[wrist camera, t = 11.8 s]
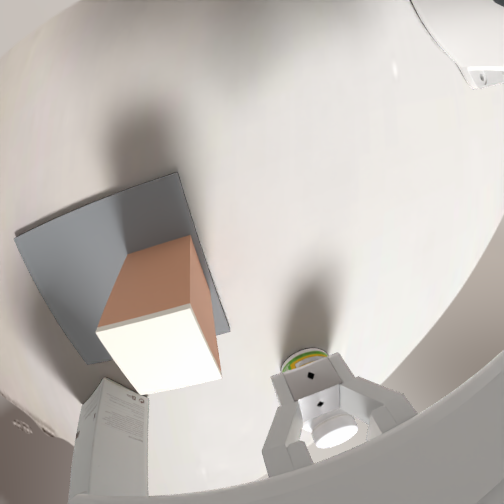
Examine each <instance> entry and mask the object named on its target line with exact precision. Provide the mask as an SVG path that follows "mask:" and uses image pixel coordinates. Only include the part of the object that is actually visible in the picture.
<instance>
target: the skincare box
mask: <svg viewBox="0 0 504 504" xmlns="http://www.w3.org/2000/svg"><path fill="white" fill-rule="evenodd" d="M148 419H149V398H147V397H145V396H143V395H140V394H137V393H135V392H133V391H131V390H129V389H127V388H126V387H124V386H122V385H120V384H118V383H116V382H114V381H112V380H110V379H108V378H106V377H104V378H103V379H102V381H101V383H100V384H99V386H98V387H97V389H96V390H95V391H94V393H93V394H92V395H91V397H90V398H89V399H88V400H87V401H86V402H85V403H84V404H83V405H82V408H81V413H80V417H79V423H78V428H77V434H76V440H75V446H74V453H73V461H72V468H71V480H70V490H69V501H70V500H71V499H72V498H73V497H74V496H75V495H78V494H89V495H101V496H148ZM69 501H68V502H69Z"/></svg>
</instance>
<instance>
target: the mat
mask: <svg viewBox="0 0 504 504" xmlns="http://www.w3.org/2000/svg"><path fill="white" fill-rule="evenodd" d="M188 235H191V238H192V241H193V244H194V247H195V250H196V253H197V256H198V259H199V261H200V264H201V267H202V270H203V273H204V276H205V278H206V281H207V284H208V287H209V290H210V293H211V301H212V309H213V317H214V324H215V332H216V335H220V334H224V333H227V332H230V328H229V325H228V323H227V320H226V317H225V314H224V312H223V309H222V306H221V303H220V300H219V298H218V295H217V292H216V289H215V286H214V283H213V281H212V278H211V275H210V272H209V269H208V266H207V263H206V260H205V257H204V254H203V251H202V248H201V245H200V242H199V239H198V236H197V233H196V230H195V227H194V224H193V221H192V217H191V214H190V211H189V208H188V205H187V201H186V198H185V195H184V192H183V188H182V185H181V182H180V178H179V175H178V172H176V173H173V174H170V175H167V176H164V177H161V178H158V179H155V180H152V181H149V182H146V183H143V184H140V185H137V186H135V187H132V188H129V189H126V190H124V191H121V192H118V193H115V194H113V195H110V196H108V197H105V198H102V199H100V200H97V201H95V202H92V203H90V204H87V205H85V206H83V207H80V208H78V209H75V210H73V211H71V212H68V213H66V214H64V215H62V216H59V217H57V218H55V219H53V220H50V221H48V222H46V223H44V224H42V225H40V226H38V227H35V228H33V229H31V230H29V231H27V232H25V233H23V234H21V235H19V236H17V237H16V238H14V241H15V243H16V245H17V248H18V250H19V252H20V254H21V256H22V258H23V261H24V263H25V265H26V267H27V269H28V271H29V273H30V275H31V277H32V278H33V280H34V282H35V284H36V286H37V288H38V290H39V291H40V293H41V295H42V297H43V299H44V300H45V302H46V304H47V305H48V307H49V309H50V310H51V312H52V314H53V315H54V317H55V319H56V320H57V322H58V323H59V325H60V326H61V328H62V330H63V331H64V333H65V334H66V336H67V337H68V339H69V340H70V341H71V343H72V344H73V346H74V347H75V349H76V350H77V351H78V353H79V354H80V356H81V357H82V358H83V360H84V361H85V362H86V364H87V365H88V364H94V363H99V362H104V361H110V360H113V358H112V357H111V355H110V354H109V352H108V351H107V349H106V348H105V347H104V345H103V344H102V342H101V341H100V339H99V337H98V336H97V334H96V333H95V332H96V330H97V327H98V324H99V321H100V319H101V316H102V314H103V311H104V308H105V306H106V303H107V301H108V298H109V296H110V293H111V291H112V289H113V286H114V284H115V282H116V279H117V277H118V275H119V272H120V270H121V268H122V266H123V263H124V261H125V259H126V257H127V254H130V253H133V252H137V251H140V250H143V249H146V248H149V247H152V246H156V245H159V244H162V243H165V242H168V241H172V240H175V239H178V238H182V237H185V236H188Z"/></svg>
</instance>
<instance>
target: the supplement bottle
mask: <svg viewBox="0 0 504 504" xmlns="http://www.w3.org/2000/svg"><path fill="white" fill-rule="evenodd" d="M327 356H328V355H327V354H326V353H325V352H324V351H323V350H321V349H317V348H309V349H304V350H301V351H299V352H297V353H295V354H293V355H292V356H290V357H289V358H288V359H287V360H286V361H285V362H284V364H283V366H282V368H281V373H283V372H286V371H289V370H292V369H295V368H298V367H301V366H304V365H306V364H308V363H311V362H314V361H316V360H319V359H321V358H324V357H327ZM302 428H303V429H304V430H306V431H309V432H311V435H312V437H313V440H314V442H315V444H316V446H317V447H319V448H329V447H333V446H336V445H339V444H341V443H343V442H345V441H347V440H348V439H350V438H351V437H352V436H353V435H355V433H356V432H357V430H358V426H357V424H356V422H355V419H354V417H352V415H350V414H348V413H347V412H345V411H343V410H341V409H340V408H339V409H336V410H333V411H331V412H328V413H325V414H323V415H320V416H318V417H315V418H313V419H310V420H308V421H305V422H303V427H302Z"/></svg>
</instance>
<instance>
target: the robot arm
mask: <svg viewBox="0 0 504 504" xmlns="http://www.w3.org/2000/svg"><path fill="white" fill-rule="evenodd" d="M411 1H412V3H413V5H414V7H415V9H416V11H417V13H418V15H419V17H420V19H421V20H422V22H423V24H424V25H425V27H426V28H427V30H428V31H429V33H430V34H431V36H432V37H433V38H434V40H435V41H436V42H437V44H438V45H439V46H440V47H441V48H442V49H443V51H444V52H445V53H446V54H447V55H448V56H449V57H450V58H451V59H452V60H453V61H454V62H455V63H456V64H457V65H458V67H459V69H460V70H461V72H462V74H463V76H464V78H465V80H466V82H467V83H468V85H469V86H470V87H471V88H472V89H482V88H486V87H490V86H494V85H498V84H502V83H504V0H411ZM271 380H272V383H273V386H274V389H275V393H276V396H277V399H278V402H279V405H280V407H278V408H277V411H276V414H275V417H274V419H273V422H272V425H271V428H270V430H269V433H268V436H267V438H266V441H265V444H264V446H263V449H262V455H263V458H264V462H265V465H266V469H267V472H268V476H269V478H266V479H262V480H258V481H254V482H250V483H245V484H241V485H236V486H231V487H226V488H220V489H214V490H208V491H201V492H193V493H184V494H174V495H160V496H101V495H89V494H78V495H75V496H74V497H73V498H72V499H71V500H70V501H69V502H68V503H67V504H504V350H503V351H502V352H501V353H499V354H498V355H497V356H496V357H495V358H494V359H493V360H492V361H491V362H489V363H488V364H487V365H486V366H485V367H483V368H482V369H481V370H480V371H479V372H477V373H476V374H475V375H474V376H472V377H471V378H470V379H468V380H467V381H466V382H465V383H463V384H462V385H460V386H459V387H458V388H456V389H455V390H454V391H453V392H451V393H449V394H448V395H447V396H445V397H444V398H442V399H441V400H439V401H438V402H437V403H435V404H433V405H432V406H430V407H429V408H427V409H425V410H424V411H422V412H421V413H419V414H418V413H417V412H416V410H415V409H414V408H413V406H412V405H411V404H410V402H409V401H408V400H407V398H406V397H405V395H404V394H402V393H400V392H397V391H394V390H392V389H389V388H386V387H384V386H381V385H379V384H376V383H374V382H371V381H369V380H366V379H364V378H361V377H359V376H358V377H356V378H355V377H354V375H353V374H352V372H351V370H350V369H349V367H348V366H347V364H346V363H345V361H344V360H343V358H342V357H341V355H340V354H339V353H338V352H337V353H334V354H332V355H329V356H327V357H324V358H321V359H319V360H316V361H314V362H311V363H308V364H306V365H304V366H301V367H298V368H295V369H292V370H289V371H286V372H283V373H279V374H276V375H273V376H271ZM339 408H340V409H341V410H343V411H345V412H347V413H348V414H350V415H352V416H354V417H355V418H357V419H359V420H361V421H363V422H364V423H366V424H368V425H369V427H368V432H367V437H366V440H367V442H365V443H363V444H361V445H359V446H356V447H354V448H352V449H350V450H347V451H345V452H343V453H340V454H338V455H335V456H333V457H330V458H328V459H326V460H323V461H320V462H317V463H313V461H312V459H311V456H310V454H309V452H308V449H307V447H306V445H305V442H303V441H300V440H299V439H300V435H301V431H302V427H303V422H305V421H308V420H310V419H313V418H315V417H318V416H320V415H323V414H325V413H328V412H331V411H333V410H336V409H339Z"/></svg>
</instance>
